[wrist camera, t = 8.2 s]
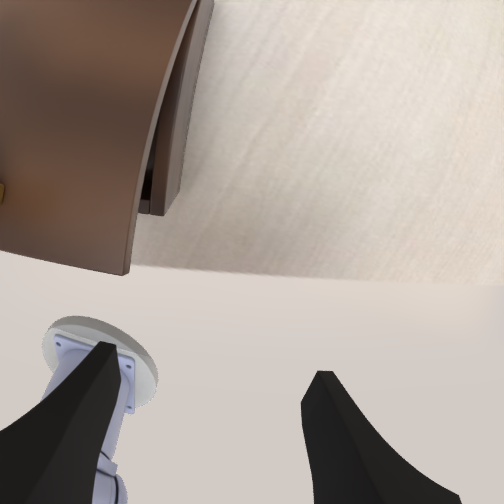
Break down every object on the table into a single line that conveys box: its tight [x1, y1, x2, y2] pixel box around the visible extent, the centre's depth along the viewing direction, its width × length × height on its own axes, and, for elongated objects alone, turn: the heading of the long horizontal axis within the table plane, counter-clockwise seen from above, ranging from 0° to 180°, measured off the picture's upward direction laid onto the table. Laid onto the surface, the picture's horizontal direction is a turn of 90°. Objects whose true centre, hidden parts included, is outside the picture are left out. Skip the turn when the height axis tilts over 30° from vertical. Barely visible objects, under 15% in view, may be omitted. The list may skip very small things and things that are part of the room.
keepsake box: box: [138, 0, 214, 216], centre depth 12 cm, size 11×14×4 cm
